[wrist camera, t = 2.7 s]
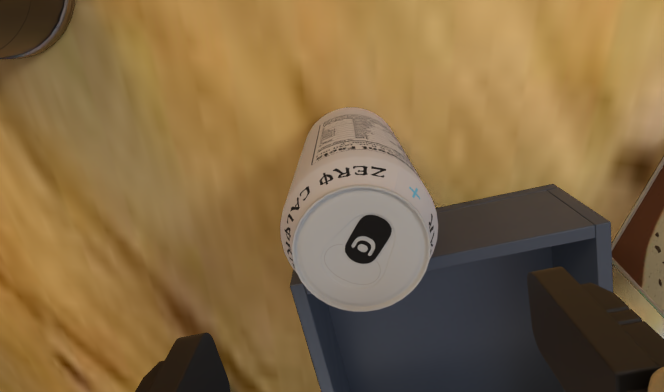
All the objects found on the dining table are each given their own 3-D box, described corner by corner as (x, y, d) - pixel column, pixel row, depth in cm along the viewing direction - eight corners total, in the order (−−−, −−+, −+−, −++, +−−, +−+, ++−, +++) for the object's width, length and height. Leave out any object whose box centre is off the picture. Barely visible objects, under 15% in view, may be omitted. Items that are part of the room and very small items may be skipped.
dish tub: (352, 426, 37) (355, 507, 31) (299, 236, 32) (289, 285, 25) (569, 390, 36) (619, 466, 29) (553, 183, 30) (611, 221, 24)
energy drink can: (289, 169, 30) (245, 283, 16) (331, 87, 29) (324, 135, 14) (367, 209, 31) (391, 350, 17) (413, 132, 29) (483, 219, 15)
